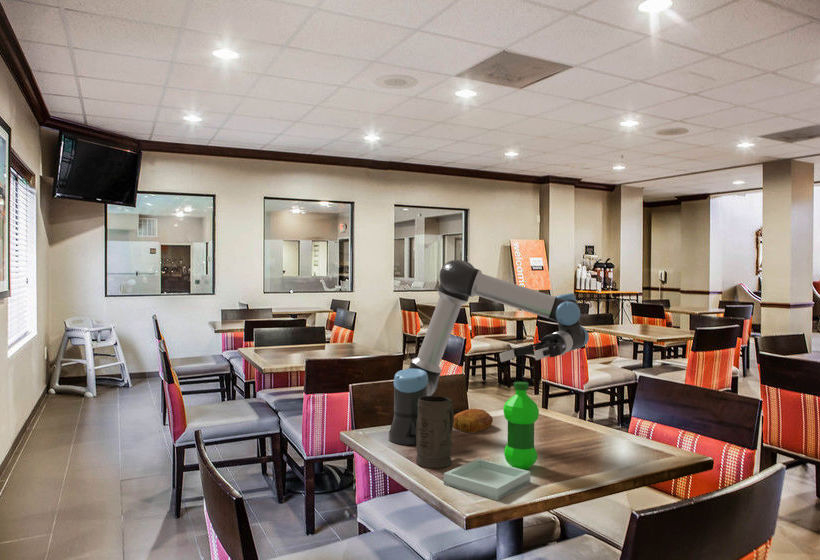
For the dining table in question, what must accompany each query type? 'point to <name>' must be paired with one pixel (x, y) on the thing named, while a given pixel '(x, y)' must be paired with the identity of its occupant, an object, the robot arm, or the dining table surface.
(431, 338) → the robot arm
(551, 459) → the dining table surface
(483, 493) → the tray
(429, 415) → the beer stein
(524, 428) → the plastic bottle
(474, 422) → the bread loaf
